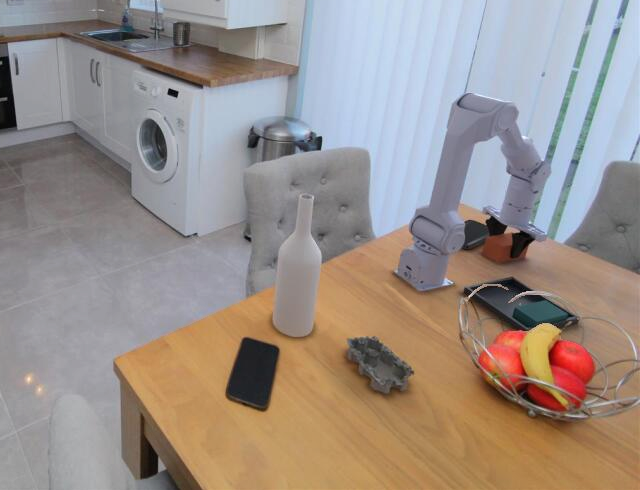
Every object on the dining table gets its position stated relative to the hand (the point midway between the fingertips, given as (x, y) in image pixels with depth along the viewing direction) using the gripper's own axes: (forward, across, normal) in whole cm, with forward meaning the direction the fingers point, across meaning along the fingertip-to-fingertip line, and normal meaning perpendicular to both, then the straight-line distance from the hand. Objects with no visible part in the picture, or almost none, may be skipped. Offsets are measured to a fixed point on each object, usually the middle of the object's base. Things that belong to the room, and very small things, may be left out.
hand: (504, 251), depth 120 cm
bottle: (+2, -7, +63) cm, 63 cm away
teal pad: (+1, -20, +15) cm, 25 cm away
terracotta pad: (+1, 0, 0) cm, 1 cm away
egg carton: (+2, -22, +55) cm, 59 cm away
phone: (+1, +10, 0) cm, 10 cm away
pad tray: (+1, -16, +15) cm, 22 cm away
